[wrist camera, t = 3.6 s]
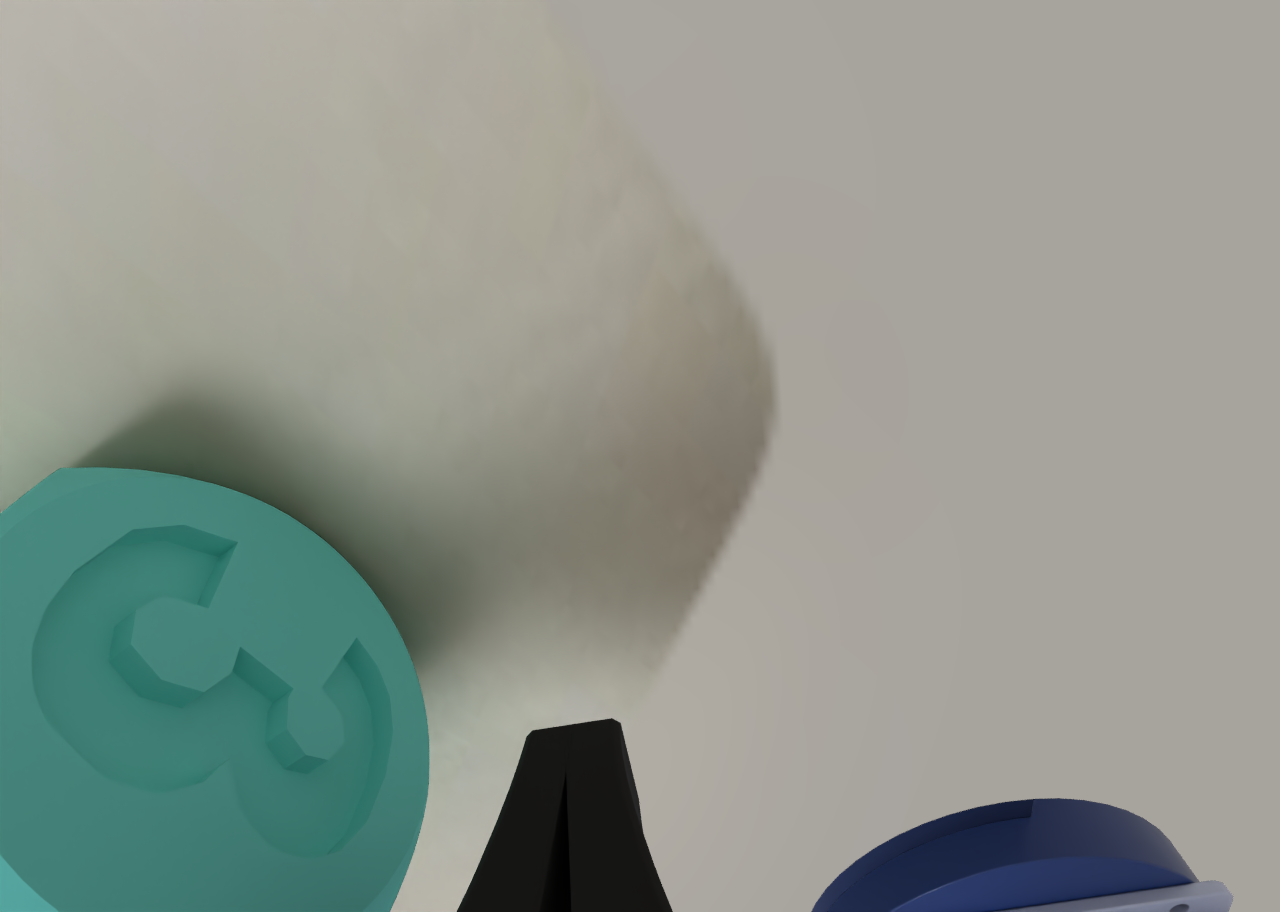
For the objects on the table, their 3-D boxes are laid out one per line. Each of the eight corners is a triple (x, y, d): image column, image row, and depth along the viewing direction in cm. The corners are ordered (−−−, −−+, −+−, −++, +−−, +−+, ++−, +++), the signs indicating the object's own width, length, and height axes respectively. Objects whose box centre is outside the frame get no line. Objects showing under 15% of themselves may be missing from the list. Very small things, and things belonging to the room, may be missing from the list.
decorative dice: (229, 802, 19) (15, 1256, 12) (-95, 612, 15) (-664, 1090, 8) (466, 647, 17) (376, 1085, 10) (152, 389, 13) (-329, 776, 6)
